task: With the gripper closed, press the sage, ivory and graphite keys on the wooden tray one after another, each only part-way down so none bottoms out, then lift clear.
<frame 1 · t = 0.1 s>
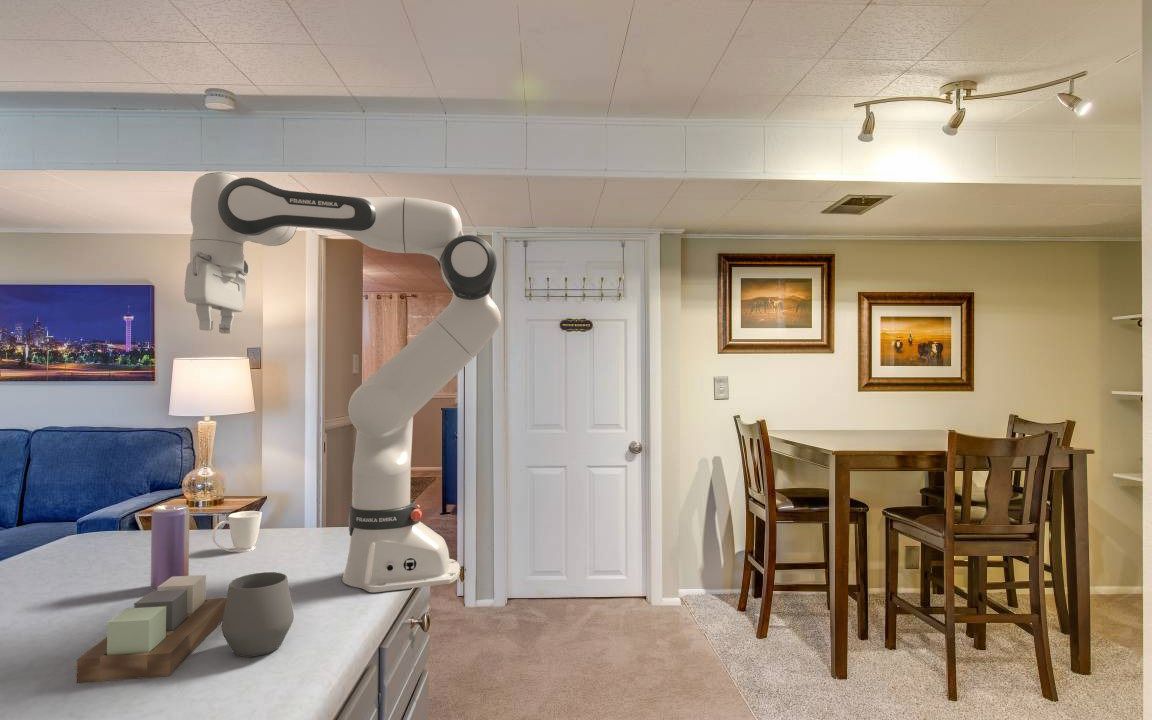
hand: (215, 332, 121), 48 cm above the countertop, fingers open, 8 cm apart
graphite key: (161, 611, 94), point 5 cm above the countertop, slide at 0.0 cm
ivory key: (182, 594, 101), point 5 cm above the countertop, slide at 0.0 cm
wooden tray: (160, 645, 94), on the countertop
beverage can: (169, 588, 119), on the countertop
cup 2: (257, 650, 93), on the countertop
sage key: (137, 630, 87), point 5 cm above the countertop, slide at 0.0 cm
cup: (237, 551, 143), on the countertop
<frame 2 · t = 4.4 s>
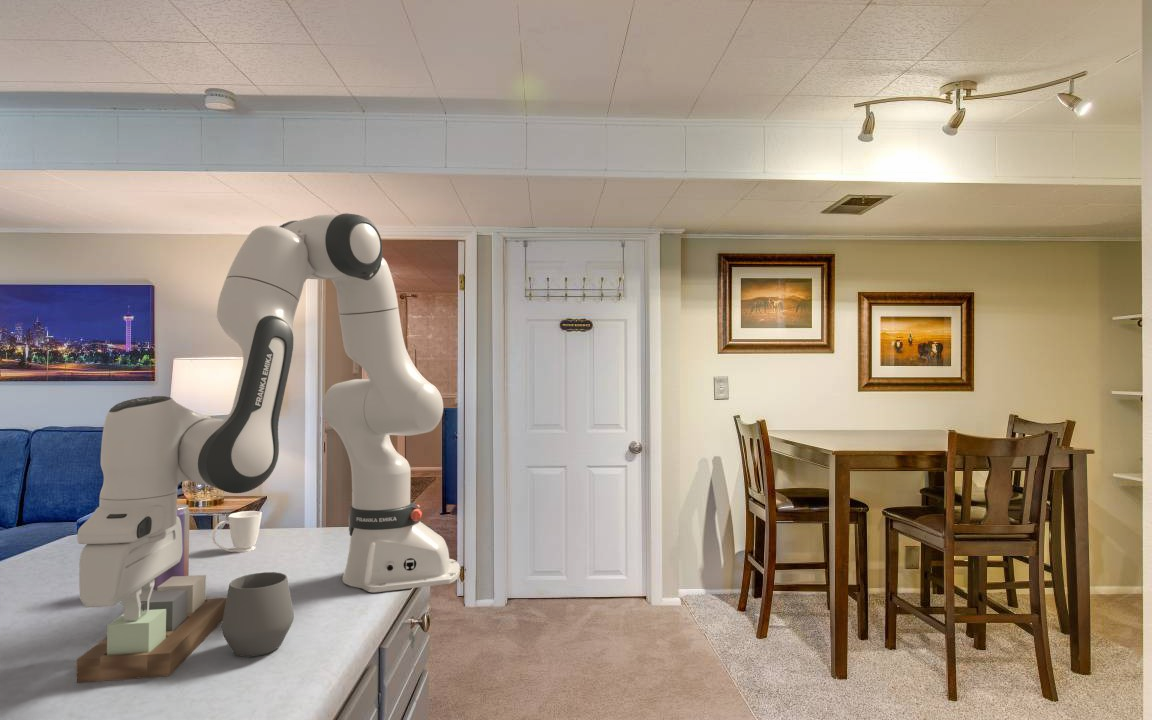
hand: (136, 616, 87), 7 cm above the countertop, fingers closed, pressing on sage key
sage key: (137, 632, 87), point 5 cm above the countertop, slide at 0.4 cm, touching gripper
everything else where it was.
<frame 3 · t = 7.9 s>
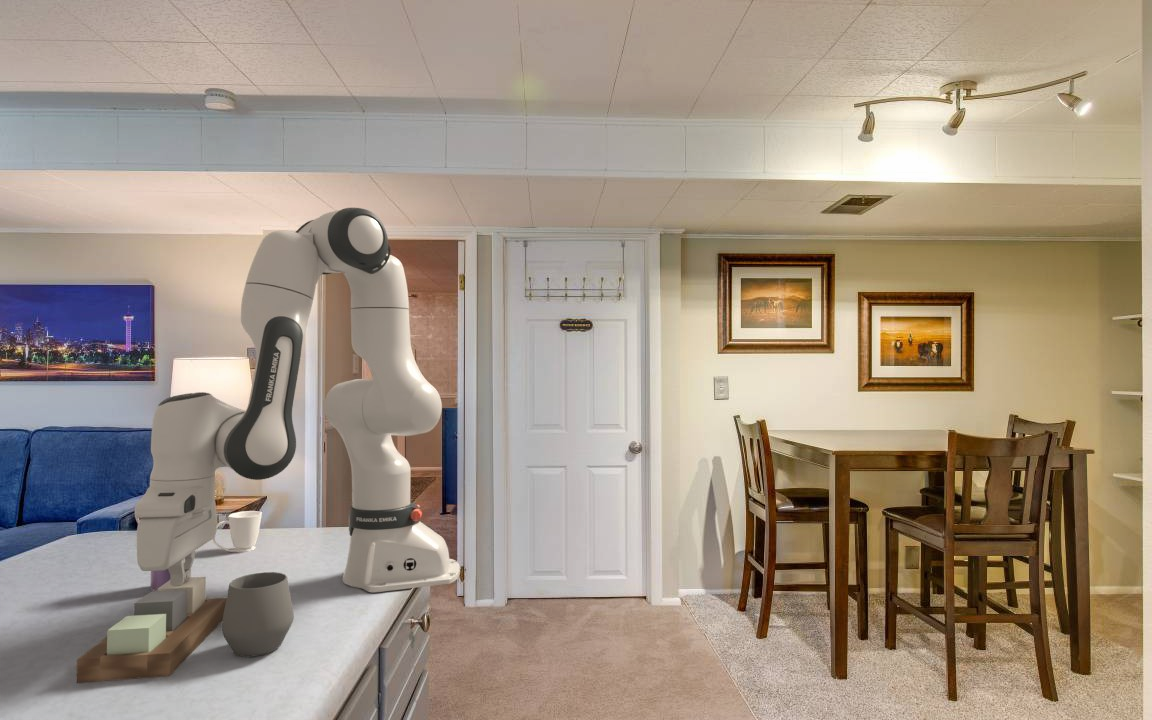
hand: (180, 582, 100), 7 cm above the countertop, fingers closed
ivory key: (182, 596, 101), point 5 cm above the countertop, slide at 0.3 cm, touching gripper
sage key: (137, 638, 87), point 4 cm above the countertop, slide at 1.1 cm
everything else where it was.
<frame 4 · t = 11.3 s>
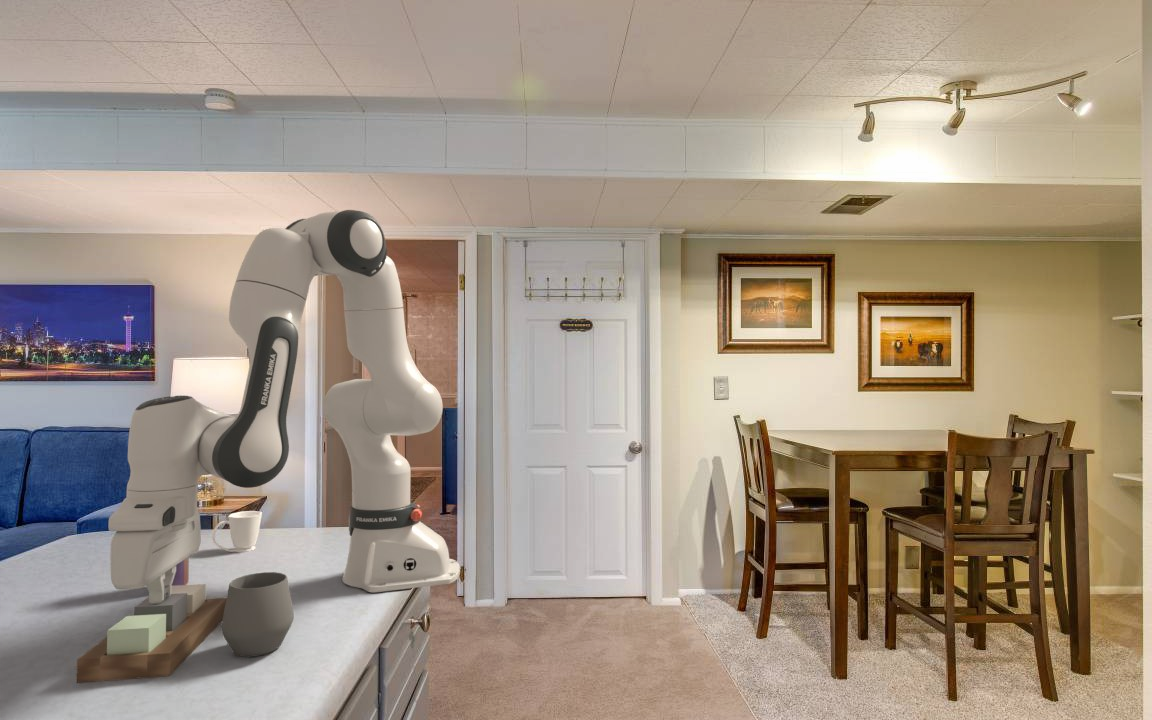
hand: (160, 600, 94), 7 cm above the countertop, fingers closed, pressing on graphite key
graphite key: (161, 614, 94), point 4 cm above the countertop, slide at 0.6 cm, touching gripper
ivory key: (181, 604, 101), point 4 cm above the countertop, slide at 1.5 cm
everything else where it was.
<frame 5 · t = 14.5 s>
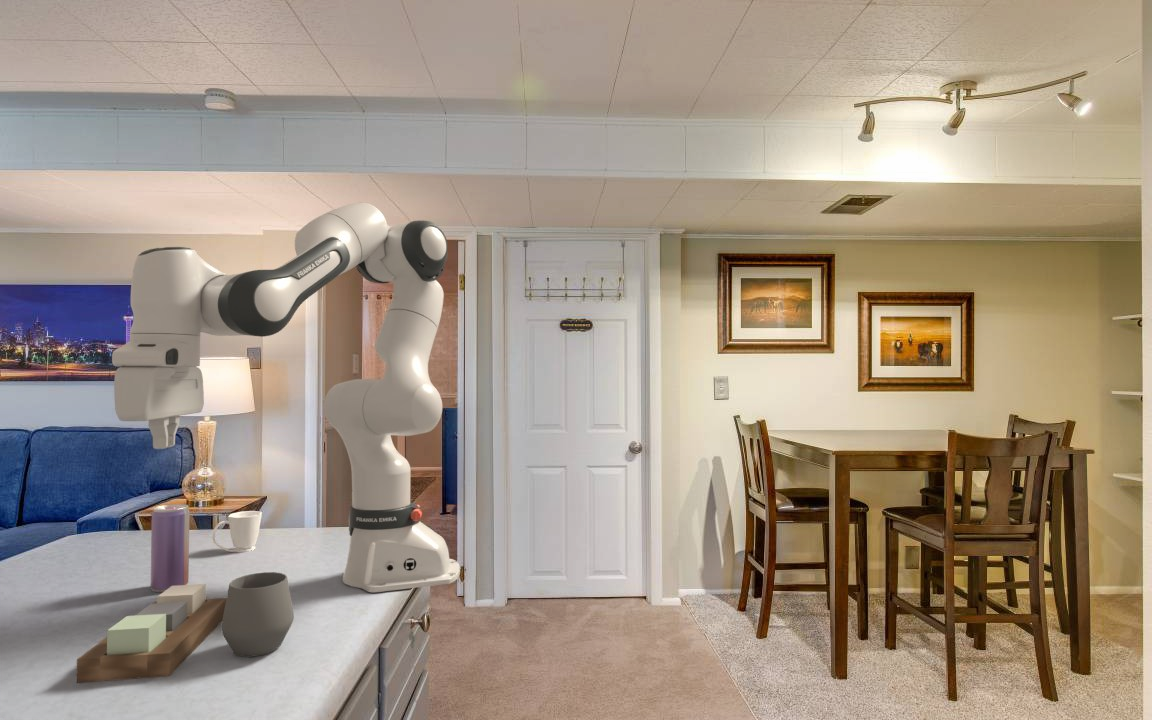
hand: (164, 447, 94), 29 cm above the countertop, fingers closed
graphite key: (161, 623, 94), point 3 cm above the countertop, slide at 1.9 cm
everything else where it was.
at the end: sage key slide at 1.1 cm; ivory key slide at 1.5 cm; graphite key slide at 1.9 cm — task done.
